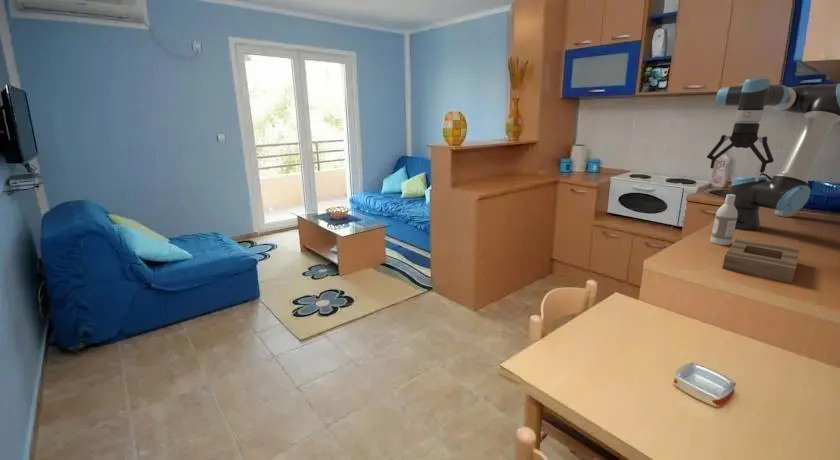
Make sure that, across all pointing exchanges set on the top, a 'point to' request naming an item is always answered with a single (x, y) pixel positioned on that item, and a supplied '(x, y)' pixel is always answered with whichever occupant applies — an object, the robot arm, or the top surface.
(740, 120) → the robot arm
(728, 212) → the bath foam
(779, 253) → the walnut holder
